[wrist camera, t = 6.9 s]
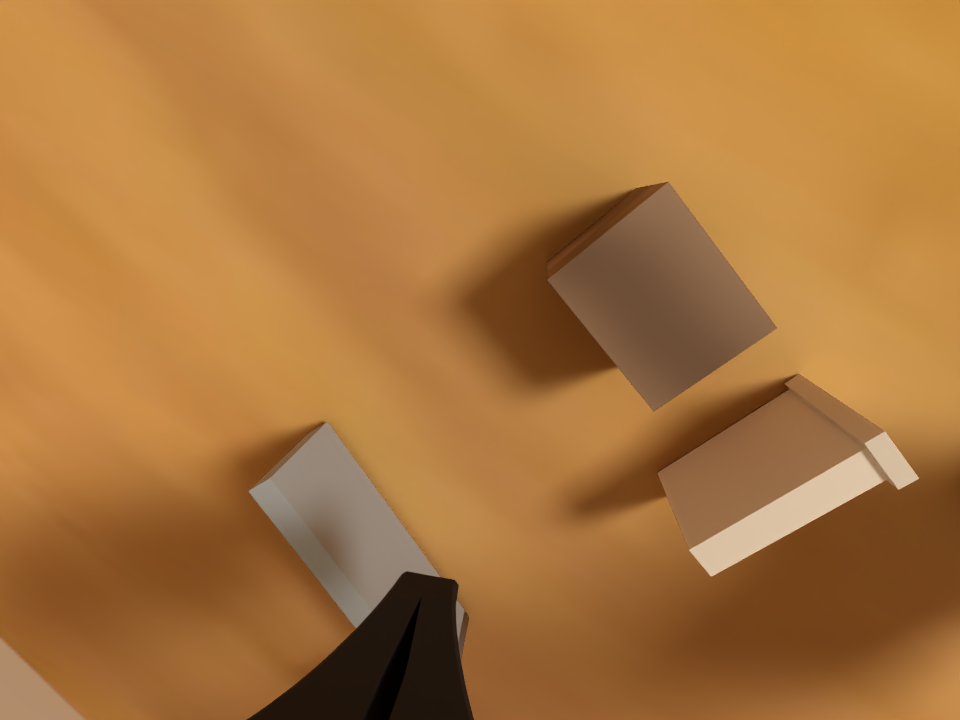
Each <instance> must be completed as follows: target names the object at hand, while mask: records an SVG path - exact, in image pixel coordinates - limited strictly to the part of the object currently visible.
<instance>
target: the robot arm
mask: <svg viewBox="0 0 960 720" xmlns="http://www.w3.org/2000/svg"><path fill="white" fill-rule="evenodd" d="M457 593H458V584H457V582H456V581H455V580H452V579H446V578H441V577H436V576H430V575H425V574H420V573H414V572H409V571H406V572H404V573H403V574H401V576H400V577H399V578H398V580H397V581H396V583H395V584H394V585H393V587H392V588H391V589H390V590H389V592H388V593H387V594H386V595H385V597H384V598H383V599H382V600H381V601H380V603H379V604H378V605H377V606H376V607H375V609H374V610H373V611H372V612H371V613H370V614H369V615H368V616H367V617H366V618H365V620H364V621H363V622H362V623H361V624H360V625H359V626H358V627H357V628H356V629H355V630H354V631H353V632H352V634H350V635H349V636H348V637H347V638H346V639H345V640H344V641H343V642H342V643H341V644H340V645H339V646H338V647H337V648H336V649H335V650H334V651H333V652H332V653H331V654H330V655H329V656H328V657H327V658H326V659H325V660H323V661H322V662H321V663H320V664H319V665H318V666H317V667H316V668H314V669H313V670H312V671H311V672H310V673H309V674H307V675H306V676H305V677H304V678H303V679H301V680H300V681H299V682H298V683H296V684H295V685H294V686H293V687H291V688H290V689H289V690H287V691H286V692H285V693H283V694H282V695H281V696H279V697H278V698H277V699H276V700H274V701H273V702H272V703H270V704H269V705H267V706H266V707H265V708H263V709H262V710H260V711H259V712H258V713H256V714H255V715H253V716H252V717H250V718H249V719H247V720H474V718H473V715H472V711H471V707H470V703H469V699H468V695H467V690H466V686H465V681H464V676H463V671H462V665H461V659H460V652H459V644H458V636H457V624H456V601H457Z"/></svg>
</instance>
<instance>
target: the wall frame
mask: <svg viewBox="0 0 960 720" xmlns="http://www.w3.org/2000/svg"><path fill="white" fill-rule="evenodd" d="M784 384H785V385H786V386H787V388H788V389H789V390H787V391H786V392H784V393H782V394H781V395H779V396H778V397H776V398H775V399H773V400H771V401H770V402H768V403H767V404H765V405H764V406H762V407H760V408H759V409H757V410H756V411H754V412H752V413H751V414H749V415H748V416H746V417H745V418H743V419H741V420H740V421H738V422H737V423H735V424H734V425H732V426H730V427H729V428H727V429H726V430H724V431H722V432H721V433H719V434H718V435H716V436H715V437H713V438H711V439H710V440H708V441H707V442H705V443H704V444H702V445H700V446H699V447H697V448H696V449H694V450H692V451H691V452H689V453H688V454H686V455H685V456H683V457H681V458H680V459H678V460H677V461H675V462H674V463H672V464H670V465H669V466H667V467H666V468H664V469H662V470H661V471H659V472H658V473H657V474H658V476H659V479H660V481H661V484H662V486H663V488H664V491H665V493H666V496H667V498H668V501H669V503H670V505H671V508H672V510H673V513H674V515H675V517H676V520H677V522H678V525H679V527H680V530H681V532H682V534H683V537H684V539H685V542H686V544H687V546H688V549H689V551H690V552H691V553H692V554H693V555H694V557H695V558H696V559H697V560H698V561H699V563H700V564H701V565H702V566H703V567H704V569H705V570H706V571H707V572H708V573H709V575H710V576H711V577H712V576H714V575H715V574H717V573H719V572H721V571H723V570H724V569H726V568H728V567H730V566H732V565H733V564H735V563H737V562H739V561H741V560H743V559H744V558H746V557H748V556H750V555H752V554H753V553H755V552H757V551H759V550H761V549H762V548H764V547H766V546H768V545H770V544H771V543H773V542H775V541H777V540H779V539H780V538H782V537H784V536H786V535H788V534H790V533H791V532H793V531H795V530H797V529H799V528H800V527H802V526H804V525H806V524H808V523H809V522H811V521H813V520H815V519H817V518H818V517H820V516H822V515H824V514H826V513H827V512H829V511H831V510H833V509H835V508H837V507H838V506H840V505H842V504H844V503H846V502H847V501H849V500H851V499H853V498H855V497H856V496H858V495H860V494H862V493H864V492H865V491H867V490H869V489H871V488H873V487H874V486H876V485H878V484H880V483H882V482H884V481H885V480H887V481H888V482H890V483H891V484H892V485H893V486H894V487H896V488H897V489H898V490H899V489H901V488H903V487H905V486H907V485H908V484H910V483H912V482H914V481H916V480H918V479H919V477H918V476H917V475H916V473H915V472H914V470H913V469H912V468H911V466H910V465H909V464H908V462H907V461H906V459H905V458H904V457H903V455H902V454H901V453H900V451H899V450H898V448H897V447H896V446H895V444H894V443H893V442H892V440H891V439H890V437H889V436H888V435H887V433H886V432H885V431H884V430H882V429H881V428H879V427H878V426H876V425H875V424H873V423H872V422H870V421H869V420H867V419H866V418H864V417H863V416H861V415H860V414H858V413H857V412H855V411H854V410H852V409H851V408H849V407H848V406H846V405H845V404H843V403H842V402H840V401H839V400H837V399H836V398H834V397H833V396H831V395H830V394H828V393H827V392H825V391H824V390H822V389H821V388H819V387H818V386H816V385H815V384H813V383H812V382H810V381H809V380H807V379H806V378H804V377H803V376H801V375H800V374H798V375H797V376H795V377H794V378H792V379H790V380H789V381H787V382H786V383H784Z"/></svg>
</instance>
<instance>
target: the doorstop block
mask: <svg viewBox="0 0 960 720" xmlns="http://www.w3.org/2000/svg"><path fill="white" fill-rule="evenodd" d="M547 281H548V282H549V283H550V284H551V285H552V287H553V288H554V289H555V290H556V292H557V293H558V294H559V295H560V297H561V298H562V299H563V300H564V302H565V303H566V304H567V305H568V306H569V308H570V309H571V310H572V311H573V313H574V314H575V315H576V316H577V318H578V319H579V320H580V321H581V322H582V324H583V325H584V326H585V327H586V329H587V330H588V331H589V332H590V334H591V335H592V336H593V337H594V339H595V340H596V341H597V342H598V343H599V345H600V346H601V347H602V348H603V350H604V351H605V352H606V353H607V355H608V356H609V357H610V358H611V359H612V361H613V362H614V363H615V364H616V366H617V367H618V368H619V369H620V371H621V372H622V373H623V374H624V376H625V377H626V378H627V379H628V380H629V382H630V383H631V384H632V385H633V387H634V388H635V389H636V390H637V392H638V393H639V394H640V395H641V397H642V398H643V399H644V400H645V401H646V403H647V404H648V405H649V406H650V408H651V409H652V410H653V411H655V410H657V409H658V408H660V407H661V406H663V405H664V404H666V403H667V402H669V401H670V400H672V399H673V398H675V397H676V396H678V395H679V394H681V393H682V392H684V391H685V390H686V389H688V388H689V387H691V386H692V385H694V384H695V383H697V382H698V381H700V380H701V379H703V378H704V377H706V376H707V375H709V374H710V373H712V372H713V371H715V370H716V369H717V368H719V367H720V366H722V365H723V364H725V363H726V362H728V361H729V360H731V359H732V358H734V357H735V356H737V355H738V354H740V353H741V352H743V351H744V350H746V349H747V348H748V347H750V346H751V345H753V344H754V343H756V342H757V341H759V340H760V339H762V338H763V337H765V336H766V335H768V334H769V333H771V332H772V331H774V330H775V329H777V327H776V326H775V324H774V323H773V322H772V320H771V319H770V318H769V316H768V315H767V314H766V312H765V311H764V310H763V308H762V307H761V306H760V304H759V303H758V302H757V300H756V299H755V297H754V296H753V295H752V293H751V292H750V291H749V289H748V288H747V287H746V285H745V284H744V283H743V281H742V280H741V279H740V277H739V276H738V275H737V273H736V272H735V271H734V269H733V268H732V267H731V265H730V264H729V263H728V261H727V260H726V259H725V257H724V256H723V255H722V253H721V252H720V250H719V249H718V248H717V246H716V245H715V244H714V242H713V241H712V240H711V238H710V237H709V236H708V234H707V233H706V232H705V230H704V229H703V228H702V226H701V225H700V224H699V222H698V221H697V220H696V218H695V217H694V216H693V214H692V213H691V212H690V210H689V209H688V208H687V206H686V205H685V203H684V202H683V201H682V199H681V198H680V197H679V195H678V194H677V193H676V191H675V190H674V189H673V187H672V186H671V185H670V183H669V182H665V183H660V184H655V185H650V186H645V187H640V188H637V189H635V190H634V191H633V192H632V193H631V194H629V195H628V196H627V197H626V198H624V199H623V200H622V201H621V202H620V203H618V204H617V205H616V206H615V207H613V208H612V209H611V210H610V211H609V212H607V213H606V214H605V215H604V216H602V217H601V218H600V219H599V220H598V221H596V222H595V223H594V224H593V225H592V226H590V227H589V228H588V229H587V230H585V231H584V232H583V233H582V234H581V235H579V236H578V237H577V238H576V239H574V240H573V241H572V242H571V243H570V244H568V245H567V246H566V247H565V248H563V249H562V250H561V251H560V252H559V253H557V254H556V255H555V256H554V257H552V258H551V259H550V260H549V261H548V262H547Z"/></svg>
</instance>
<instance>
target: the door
mask: <svg viewBox="0 0 960 720" xmlns="http://www.w3.org/2000/svg"><path fill="white" fill-rule="evenodd" d="M248 492H249V493H250V494H251V496H252V497H253V498H254V499H255V501H256V502H257V503H258V504H259V506H260V507H261V508H262V510H263V511H264V512H265V513H266V515H267V516H268V517H269V518H270V520H271V521H272V522H273V524H274V525H275V526H276V527H277V529H278V530H279V531H280V533H281V534H282V535H283V536H284V538H285V539H286V540H287V541H288V543H289V544H290V545H291V547H292V548H293V549H294V550H295V552H296V553H297V554H298V555H299V557H300V558H301V559H302V561H303V562H304V563H305V564H306V566H307V567H308V568H309V570H310V571H311V572H312V573H313V575H314V576H315V577H316V578H317V580H318V581H319V582H320V584H321V585H322V586H323V587H324V589H325V590H326V591H327V593H328V594H329V595H330V596H331V598H332V599H333V600H334V601H335V603H336V604H337V605H338V607H339V608H340V609H341V610H342V612H343V613H344V614H345V615H346V617H347V618H348V619H349V621H350V622H351V623H352V624H353V626H354V627H355V628H357V627H358V626H359V625H360V624H361V623H362V622H363V621H364V620H365V618H366V617H367V616H368V615H369V614H370V613H371V612H372V611H373V610H374V609H375V607H376V606H377V605H378V604H379V603H380V601H381V600H382V599H383V598H384V597H385V595H386V594H387V593H388V592H389V590H390V589H391V588H392V587H393V585H394V584H395V583H396V581H397V580H398V578H399V577H400V576H401V574H403V573H404V572H406V571H409V572H414V573H420V574H425V575H430V576H436V577H440V576H439V574H438V573H437V572H436V570H435V569H434V568H433V566H432V565H431V563H430V562H429V561H428V559H427V558H426V557H425V555H424V554H423V553H422V551H421V550H420V548H419V547H418V546H417V544H416V543H415V542H414V540H413V539H412V537H411V536H410V535H409V533H408V532H407V531H406V529H405V528H404V526H403V525H402V524H401V522H400V521H399V520H398V518H397V517H396V515H395V514H394V513H393V511H392V510H391V509H390V507H389V506H388V504H387V503H386V502H385V500H384V499H383V498H382V496H381V495H380V494H379V492H378V491H377V489H376V488H375V487H374V485H373V484H372V483H371V481H370V480H369V478H368V477H367V476H366V474H365V473H364V472H363V470H362V469H361V467H360V466H359V465H358V463H357V462H356V461H355V459H354V458H353V456H352V455H351V454H350V452H349V451H348V450H347V448H346V447H345V445H344V444H343V443H342V441H341V440H340V439H339V437H338V436H337V435H336V433H335V432H334V430H333V429H332V428H331V426H330V425H329V424H328V422H326V423H324V424H323V425H321V426H319V427H318V428H316V429H314V430H313V431H311V432H309V433H308V434H307V435H306V436H305V437H304V438H303V439H302V440H301V441H300V442H299V443H298V444H297V445H296V446H295V447H294V448H293V449H292V450H290V451H289V452H288V453H287V454H286V455H285V456H284V457H283V458H282V459H281V460H280V461H279V462H278V463H277V464H276V465H275V466H274V467H273V468H272V469H271V470H270V471H269V472H268V473H267V474H265V475H264V476H263V477H262V478H261V479H260V480H259V481H258V482H257V483H256V484H255V485H254V486H253V487H252V488H251V489H250V490H249V491H248ZM468 621H469V617H468V614H467V613H466V612H465V610H464V609H463V607H462V606H461V605H460V603H459V602H458V601H456V624H457V636H458V644H459V652H460V659H461V658H462V653H463V647H464V642H465V637H466V631H467V626H468Z"/></svg>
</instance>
